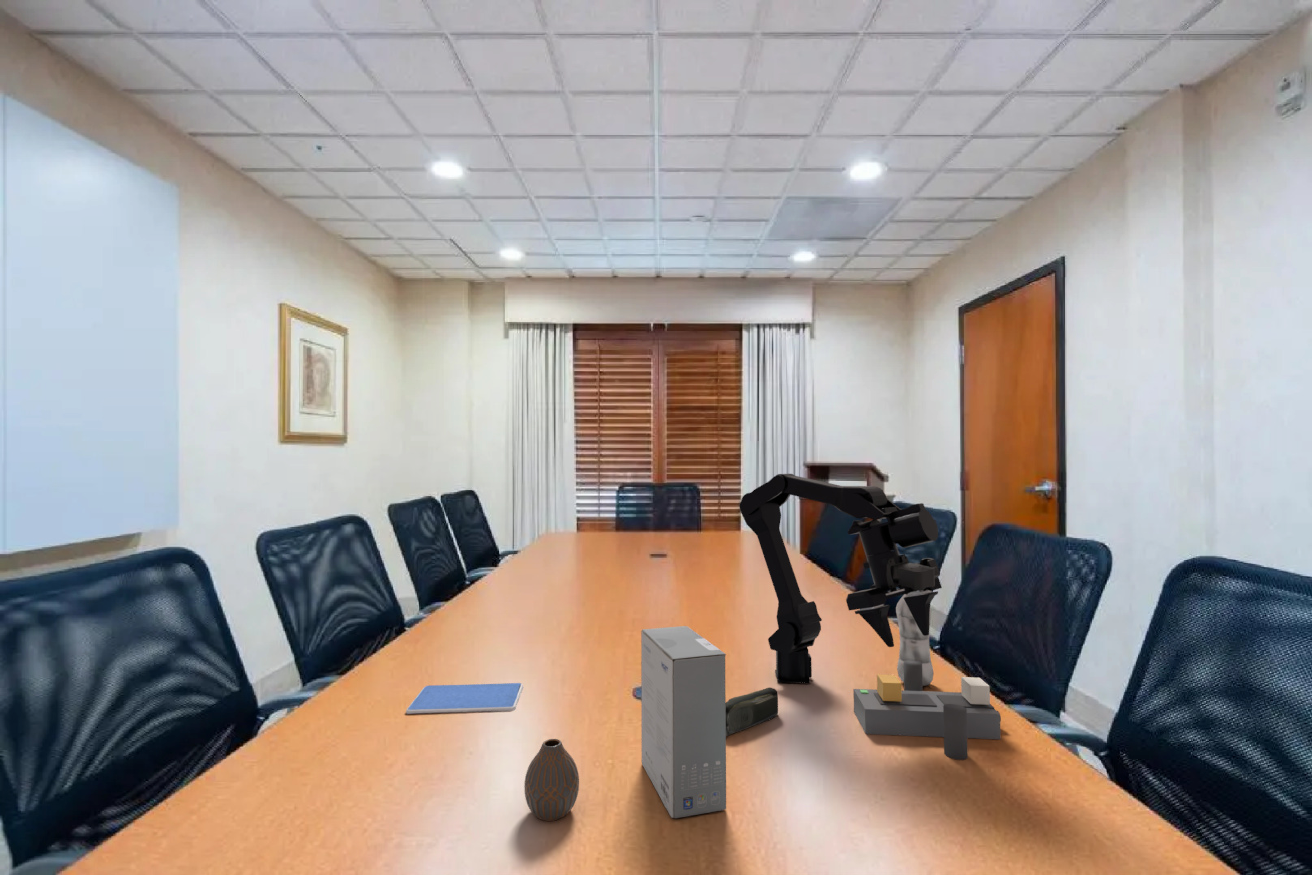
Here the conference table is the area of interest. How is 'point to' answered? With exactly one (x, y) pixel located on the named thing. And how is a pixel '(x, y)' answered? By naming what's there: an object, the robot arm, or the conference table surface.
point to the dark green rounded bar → (750, 709)
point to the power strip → (921, 714)
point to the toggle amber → (889, 687)
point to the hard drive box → (684, 720)
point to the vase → (551, 782)
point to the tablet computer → (466, 698)
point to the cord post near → (955, 731)
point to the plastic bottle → (912, 643)
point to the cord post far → (913, 676)
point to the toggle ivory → (975, 690)
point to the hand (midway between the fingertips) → (909, 640)
